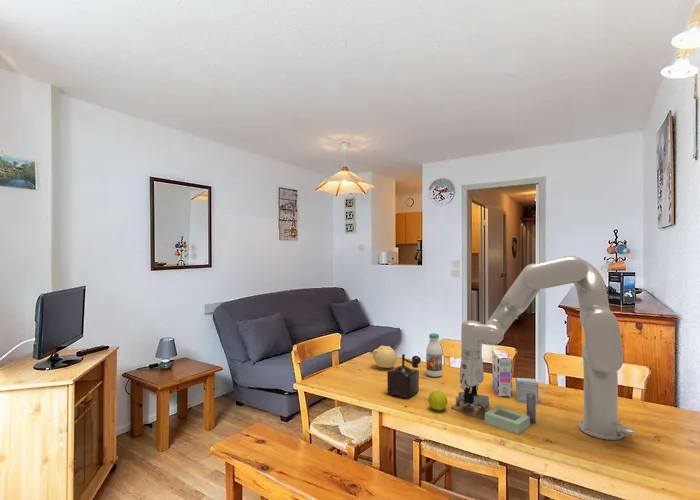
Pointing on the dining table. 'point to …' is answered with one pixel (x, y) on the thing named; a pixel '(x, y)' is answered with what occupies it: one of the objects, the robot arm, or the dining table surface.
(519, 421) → the slot block
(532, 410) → the pin
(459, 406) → the peg rack
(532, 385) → the medicine box
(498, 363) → the candy box
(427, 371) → the milk bottle
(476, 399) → the spanner bar
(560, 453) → the dining table surface
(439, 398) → the tennis ball
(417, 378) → the manual coffee grinder
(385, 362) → the beige rounded lump
